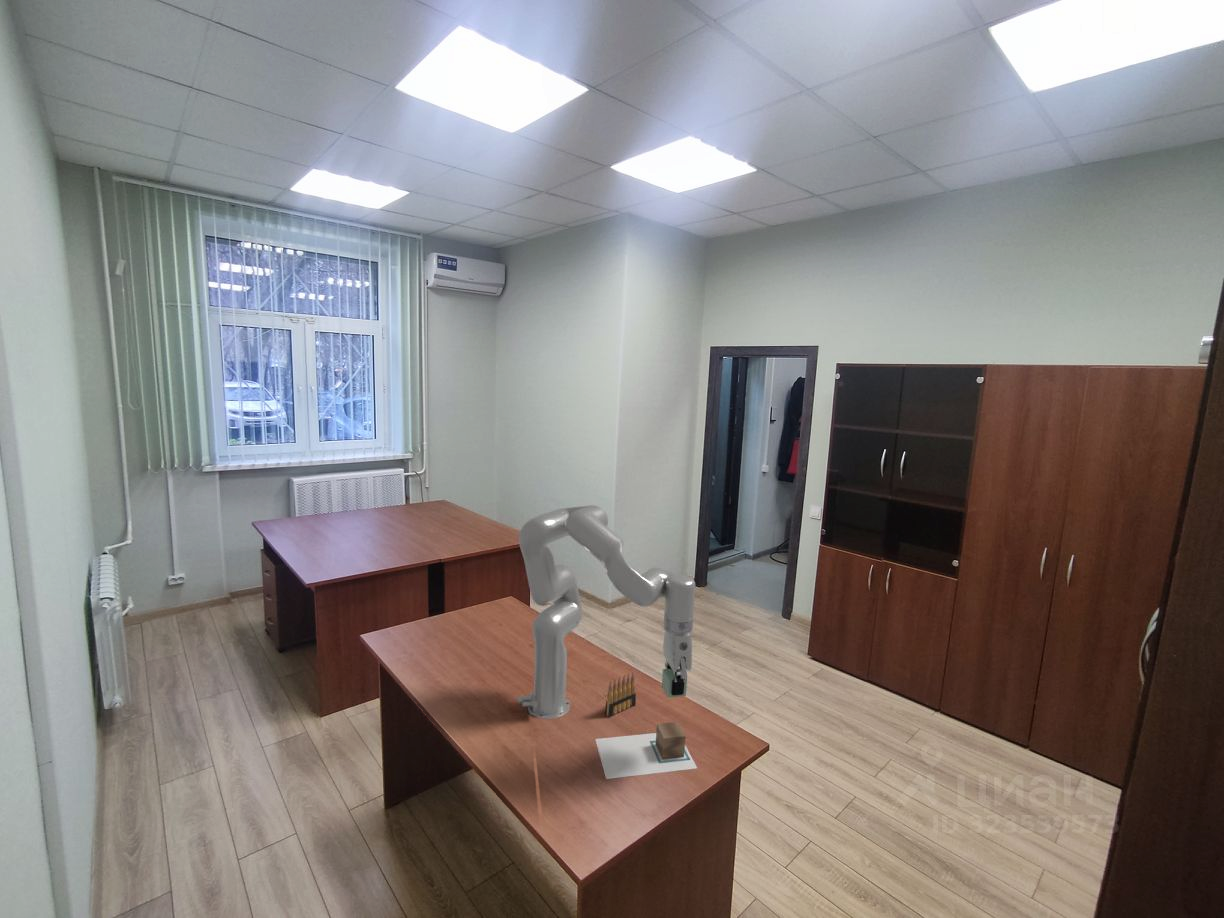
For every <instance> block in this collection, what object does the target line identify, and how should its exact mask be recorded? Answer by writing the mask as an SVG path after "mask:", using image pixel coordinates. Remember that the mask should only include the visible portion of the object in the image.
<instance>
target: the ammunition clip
mask: <svg viewBox="0 0 1224 918" xmlns="http://www.w3.org/2000/svg"><path fill="white" fill-rule="evenodd" d="M636 702H637V693H636V673H635V671H634V670H633V671H632V672H631V674H630V673H629V672H628V673H627V676H626V675H625V674H624V675H623V678H622V677H621V676H619V677H618V681H617V678H615V679H613V681H612V680H609V683H608V691H607V699H606V702H605V710H604V711H605V712H604V713H605V714H604V715H605V716H606V717H607V718H612V717H613V716H616V715H618V714H620V713H623V712H625V711H626V710H629V709H631V708H633V707H635V706H636Z"/></svg>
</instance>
